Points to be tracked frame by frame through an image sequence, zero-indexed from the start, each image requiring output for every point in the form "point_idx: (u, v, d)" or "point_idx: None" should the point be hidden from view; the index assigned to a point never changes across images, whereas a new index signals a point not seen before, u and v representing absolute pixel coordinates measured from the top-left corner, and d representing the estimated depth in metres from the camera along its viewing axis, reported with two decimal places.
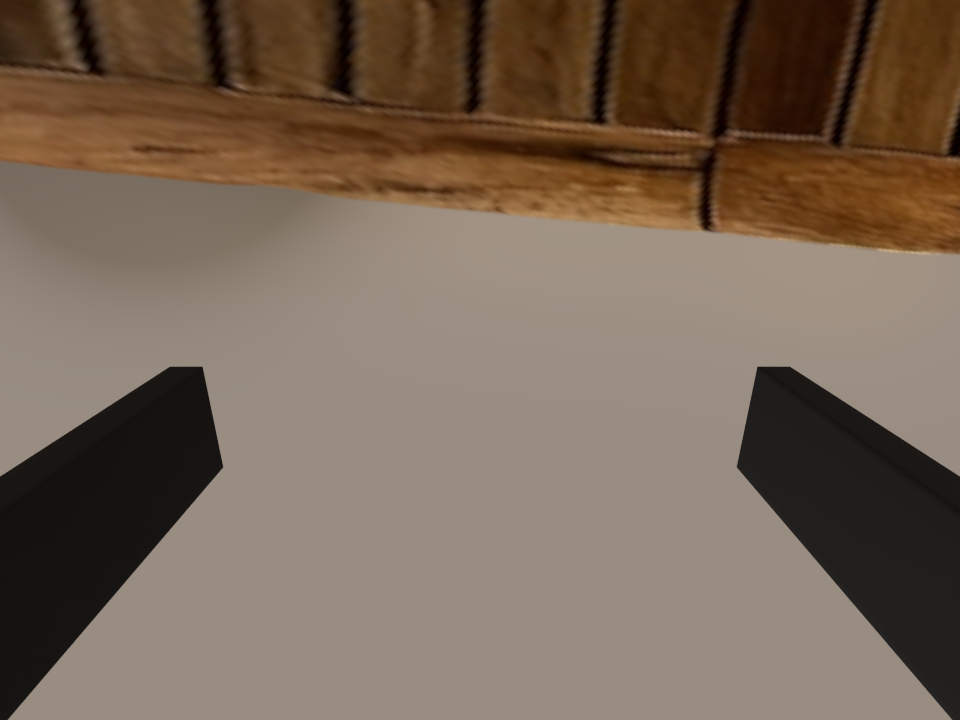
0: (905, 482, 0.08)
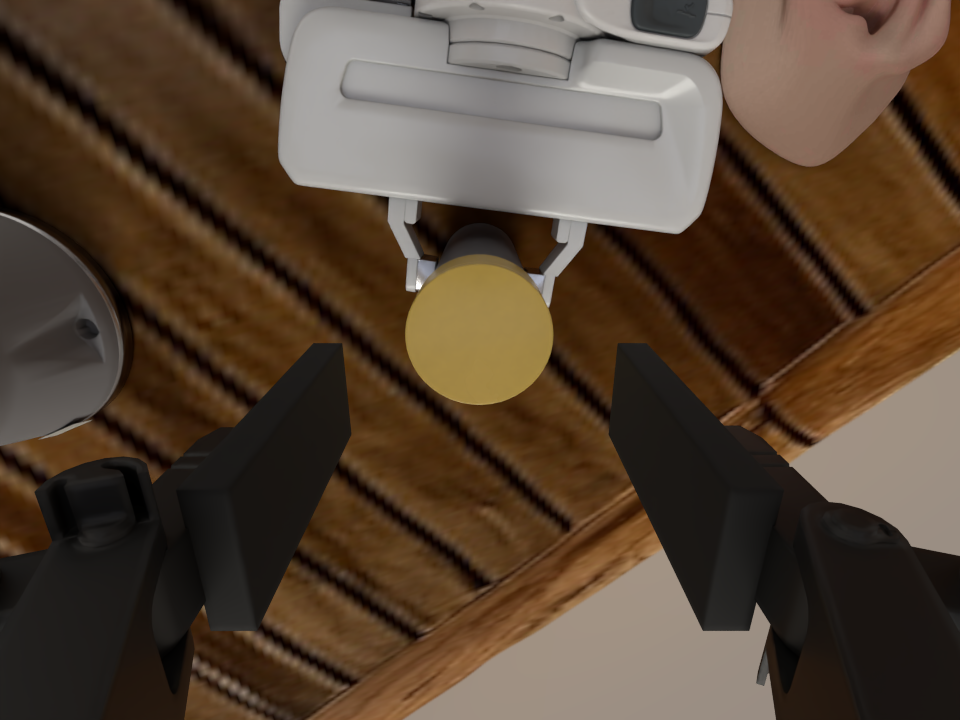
0: (679, 429, 0.09)
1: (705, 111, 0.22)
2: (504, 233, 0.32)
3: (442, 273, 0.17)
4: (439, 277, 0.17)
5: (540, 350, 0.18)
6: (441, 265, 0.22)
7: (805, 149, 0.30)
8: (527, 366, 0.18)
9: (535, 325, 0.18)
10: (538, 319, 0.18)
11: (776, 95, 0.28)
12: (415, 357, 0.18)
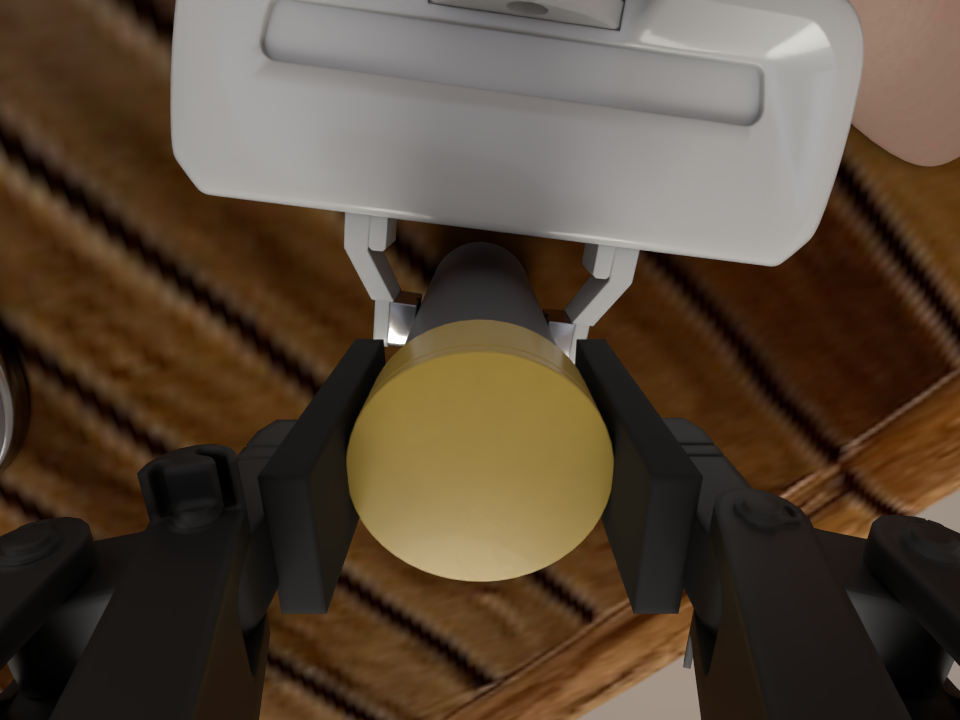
0: (618, 420, 0.10)
1: (837, 79, 0.14)
2: (513, 256, 0.24)
3: (410, 367, 0.09)
4: (405, 375, 0.09)
5: (590, 497, 0.10)
6: (419, 323, 0.14)
7: (927, 143, 0.22)
8: (565, 523, 0.10)
9: (582, 457, 0.10)
10: (588, 447, 0.10)
11: (895, 66, 0.20)
12: (365, 508, 0.10)
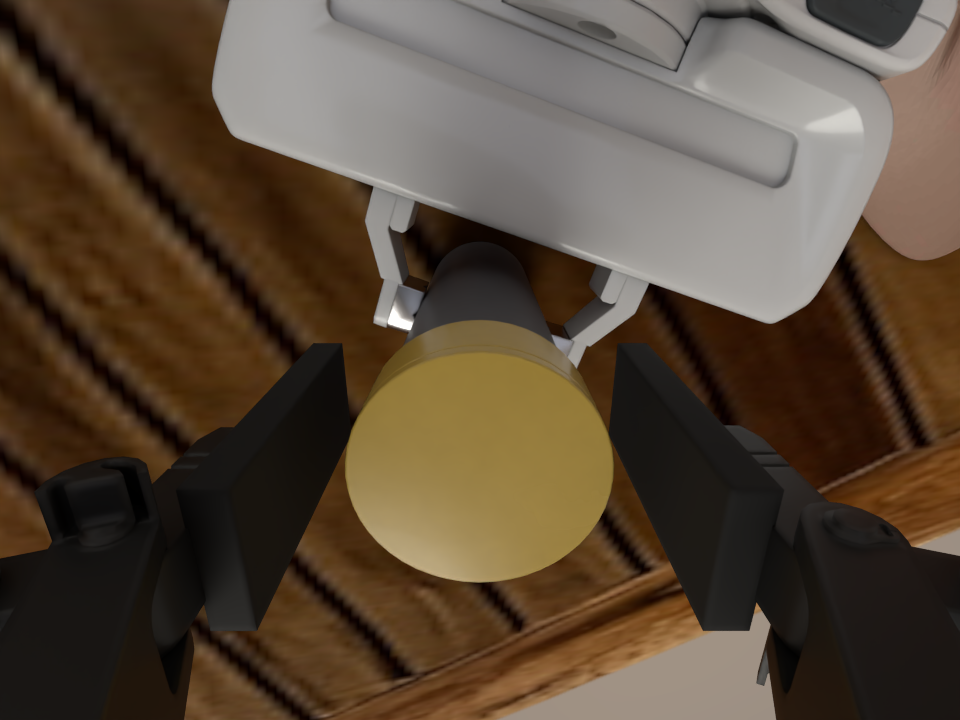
0: (679, 429, 0.09)
1: (862, 163, 0.15)
2: (519, 263, 0.24)
3: (347, 484, 0.10)
4: (351, 491, 0.10)
5: (552, 394, 0.09)
6: (433, 311, 0.14)
7: (917, 237, 0.23)
8: (570, 426, 0.10)
9: (501, 384, 0.09)
10: (492, 375, 0.09)
11: (905, 162, 0.22)
12: (465, 574, 0.11)
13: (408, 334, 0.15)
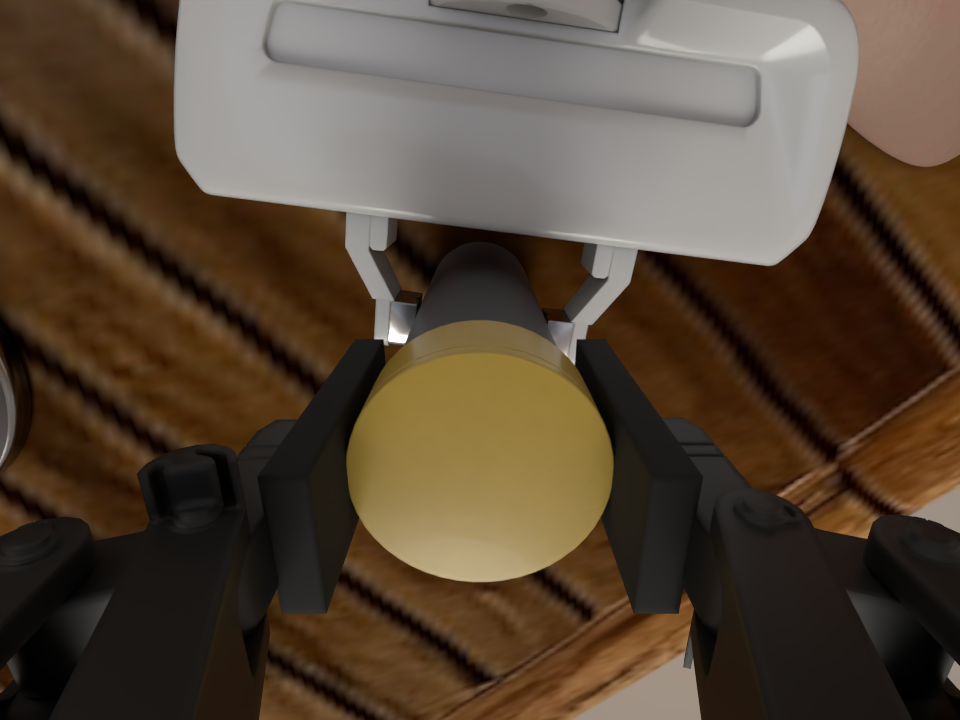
0: (618, 420, 0.10)
1: (832, 81, 0.14)
2: (512, 256, 0.24)
3: (355, 506, 0.10)
4: (360, 512, 0.10)
5: (532, 382, 0.09)
6: (420, 321, 0.14)
7: (924, 143, 0.22)
8: (558, 411, 0.09)
9: (479, 382, 0.09)
10: (469, 375, 0.09)
11: (892, 68, 0.20)
12: (489, 574, 0.11)
13: None
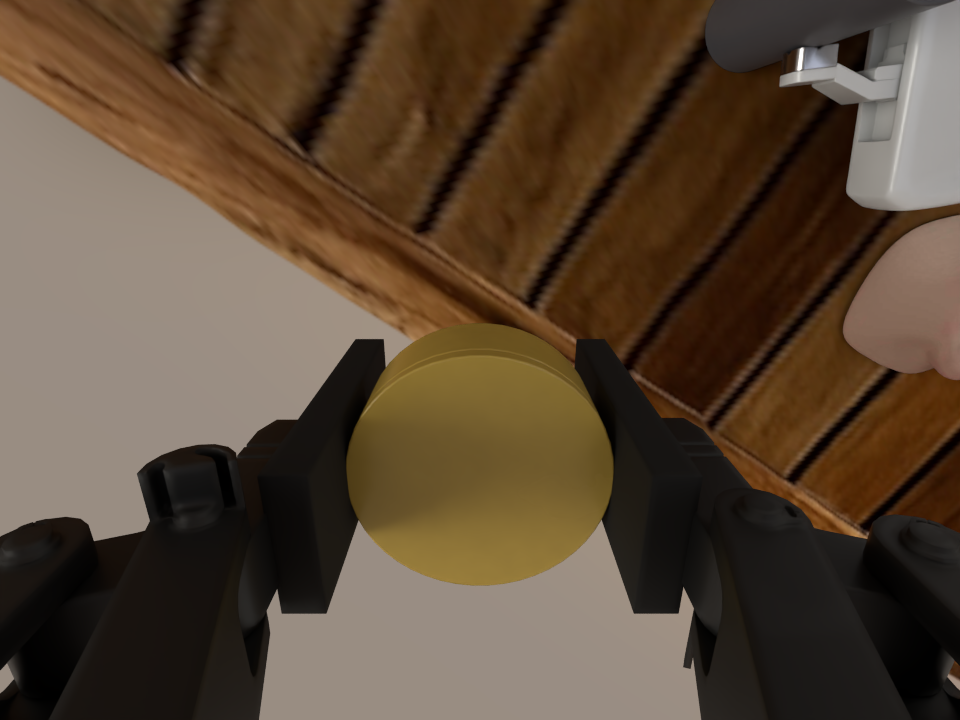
0: (618, 420, 0.10)
1: None
2: None
3: (354, 509, 0.10)
4: (360, 516, 0.10)
5: (532, 386, 0.09)
6: None
7: (864, 317, 0.34)
8: (558, 415, 0.09)
9: (479, 386, 0.09)
10: (469, 379, 0.09)
11: (915, 274, 0.33)
12: (489, 577, 0.11)
13: None
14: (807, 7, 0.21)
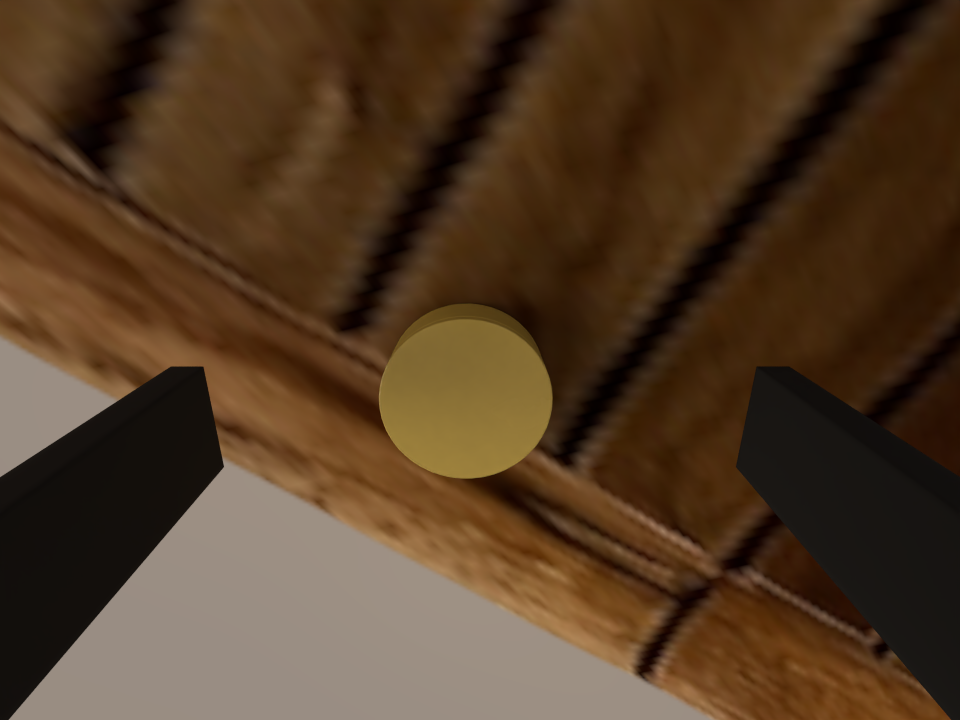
0: (904, 481, 0.08)
1: None
2: None
3: (384, 424, 0.16)
4: (387, 428, 0.16)
5: (498, 339, 0.15)
6: None
7: None
8: (514, 357, 0.15)
9: (465, 339, 0.15)
10: (458, 334, 0.15)
11: None
12: (473, 472, 0.16)
13: None
14: None
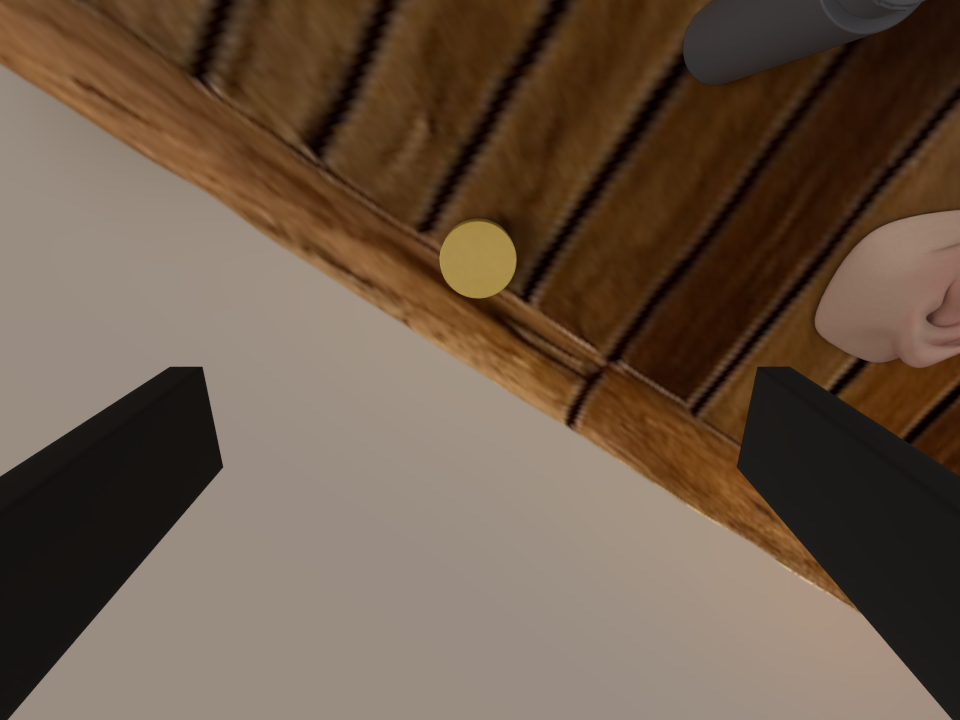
0: (905, 482, 0.08)
1: None
2: None
3: (441, 270, 0.35)
4: (443, 272, 0.35)
5: (492, 230, 0.34)
6: None
7: (833, 310, 0.37)
8: (499, 239, 0.34)
9: (478, 230, 0.34)
10: (475, 228, 0.34)
11: (879, 269, 0.36)
12: (481, 295, 0.36)
13: None
14: (766, 31, 0.24)
